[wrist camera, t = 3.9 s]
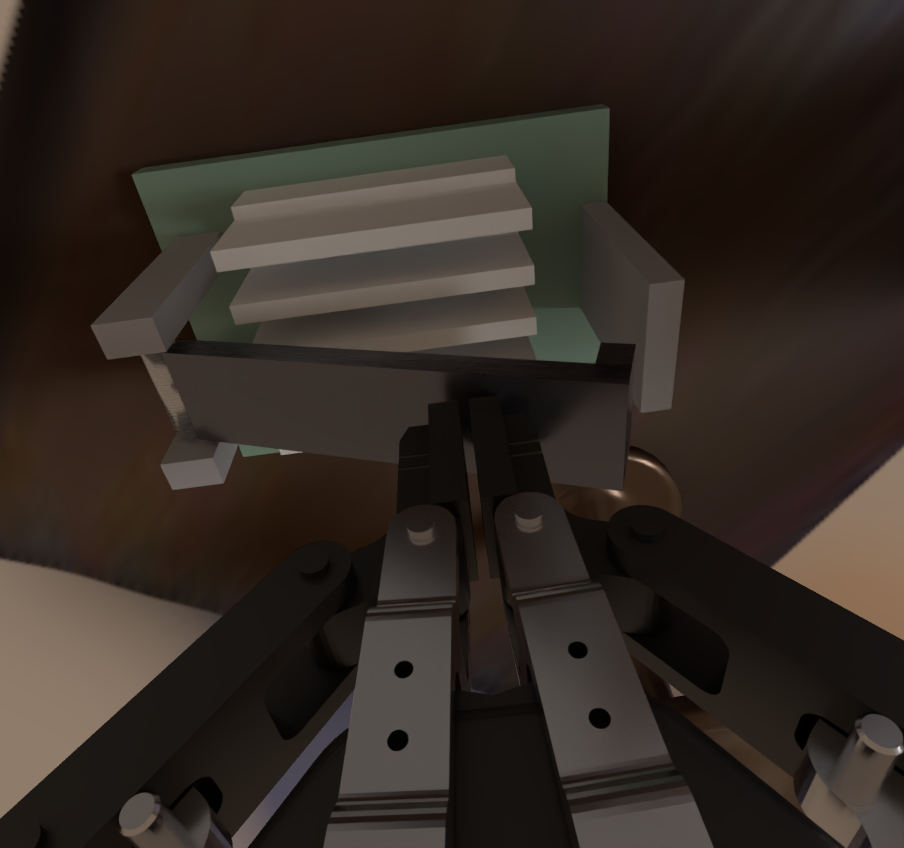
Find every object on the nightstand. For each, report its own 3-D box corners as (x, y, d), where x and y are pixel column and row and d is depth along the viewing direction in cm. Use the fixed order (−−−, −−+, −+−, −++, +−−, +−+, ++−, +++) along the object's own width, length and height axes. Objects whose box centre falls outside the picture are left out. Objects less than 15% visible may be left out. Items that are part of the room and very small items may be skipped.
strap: (635, 344, 14) (628, 387, 13) (629, 445, 16) (622, 494, 15) (174, 322, 19) (130, 352, 17) (208, 404, 20) (170, 437, 19)
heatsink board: (601, 103, 21) (700, 154, 14) (595, 397, 28) (659, 530, 21) (142, 167, 21) (12, 249, 14) (248, 443, 28) (195, 590, 21)
